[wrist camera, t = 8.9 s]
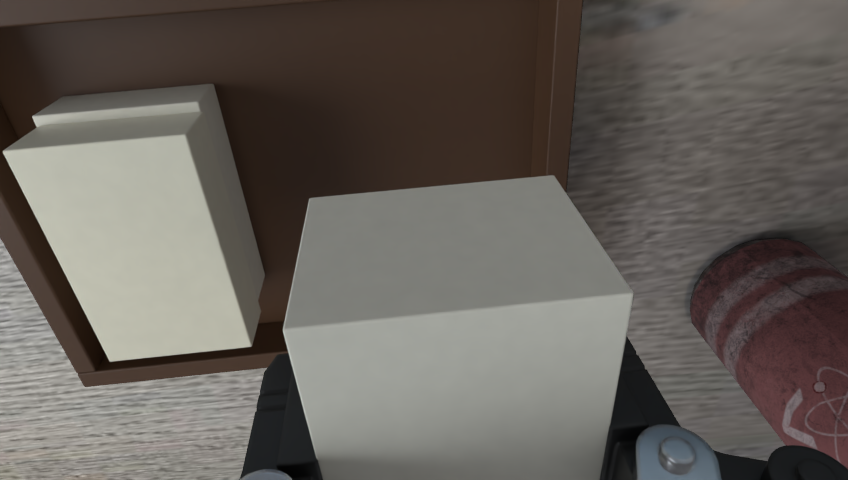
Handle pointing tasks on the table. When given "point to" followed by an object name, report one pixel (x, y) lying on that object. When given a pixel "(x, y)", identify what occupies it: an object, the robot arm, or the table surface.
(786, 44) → the table surface
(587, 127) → the table surface
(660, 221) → the table surface
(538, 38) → the tray
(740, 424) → the table surface
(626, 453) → the robot arm
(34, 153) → the cream layered block
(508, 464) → the cream rectangular block
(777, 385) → the can
